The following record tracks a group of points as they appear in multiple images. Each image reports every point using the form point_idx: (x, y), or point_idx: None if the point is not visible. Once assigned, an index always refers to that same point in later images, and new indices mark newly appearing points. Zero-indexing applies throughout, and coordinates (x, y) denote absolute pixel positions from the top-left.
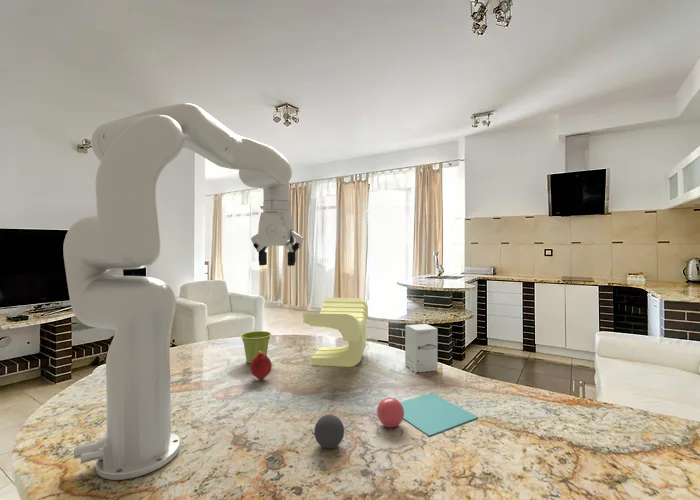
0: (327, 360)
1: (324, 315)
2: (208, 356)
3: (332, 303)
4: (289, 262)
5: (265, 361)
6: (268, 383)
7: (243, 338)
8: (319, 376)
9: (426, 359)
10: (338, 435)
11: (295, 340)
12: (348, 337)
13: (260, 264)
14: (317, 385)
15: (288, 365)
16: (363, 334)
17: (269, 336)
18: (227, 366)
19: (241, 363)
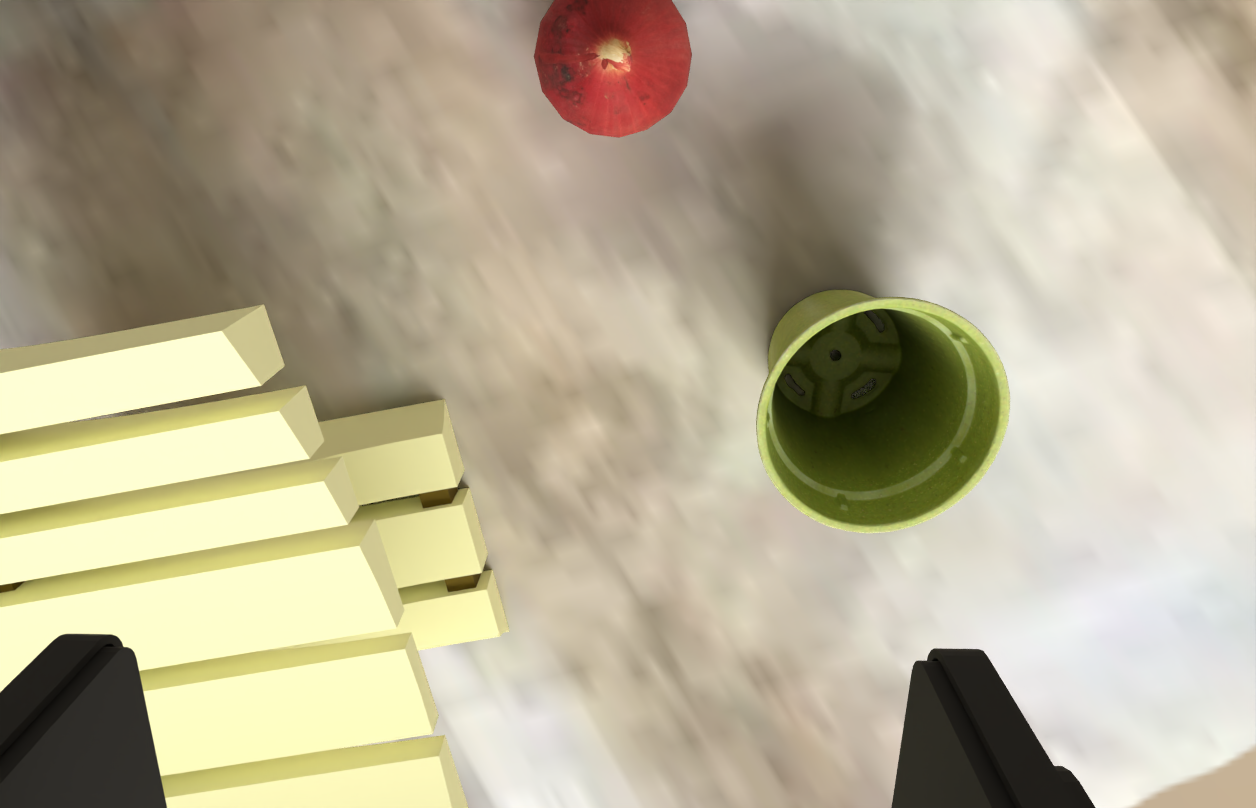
0: (337, 443)
1: (11, 368)
2: (1235, 338)
3: None
4: (18, 676)
5: (551, 25)
6: (531, 16)
7: (939, 306)
8: (289, 232)
9: None
10: None
11: (790, 794)
12: None
13: (940, 652)
14: (222, 90)
15: (580, 348)
16: None
17: (766, 443)
18: (979, 204)
19: (914, 285)
